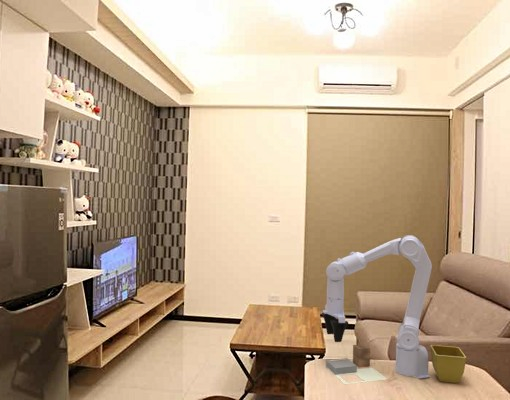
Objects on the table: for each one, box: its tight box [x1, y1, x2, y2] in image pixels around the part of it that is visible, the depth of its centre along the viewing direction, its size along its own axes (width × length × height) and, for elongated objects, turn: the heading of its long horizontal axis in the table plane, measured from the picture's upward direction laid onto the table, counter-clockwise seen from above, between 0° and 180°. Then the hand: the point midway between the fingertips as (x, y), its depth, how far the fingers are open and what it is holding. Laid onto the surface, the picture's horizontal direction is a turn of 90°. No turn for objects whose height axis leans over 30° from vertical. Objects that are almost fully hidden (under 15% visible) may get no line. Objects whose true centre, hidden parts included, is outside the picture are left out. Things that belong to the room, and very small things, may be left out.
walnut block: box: [352, 343, 371, 368], centre depth 140 cm, size 4×4×6 cm
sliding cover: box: [325, 357, 357, 376], centre depth 136 cm, size 8×6×2 cm
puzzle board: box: [325, 365, 388, 385], centre depth 135 cm, size 14×14×1 cm
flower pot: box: [429, 344, 467, 384], centre depth 133 cm, size 9×9×9 cm
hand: (334, 337), depth 144 cm, fingers open, 7 cm apart
